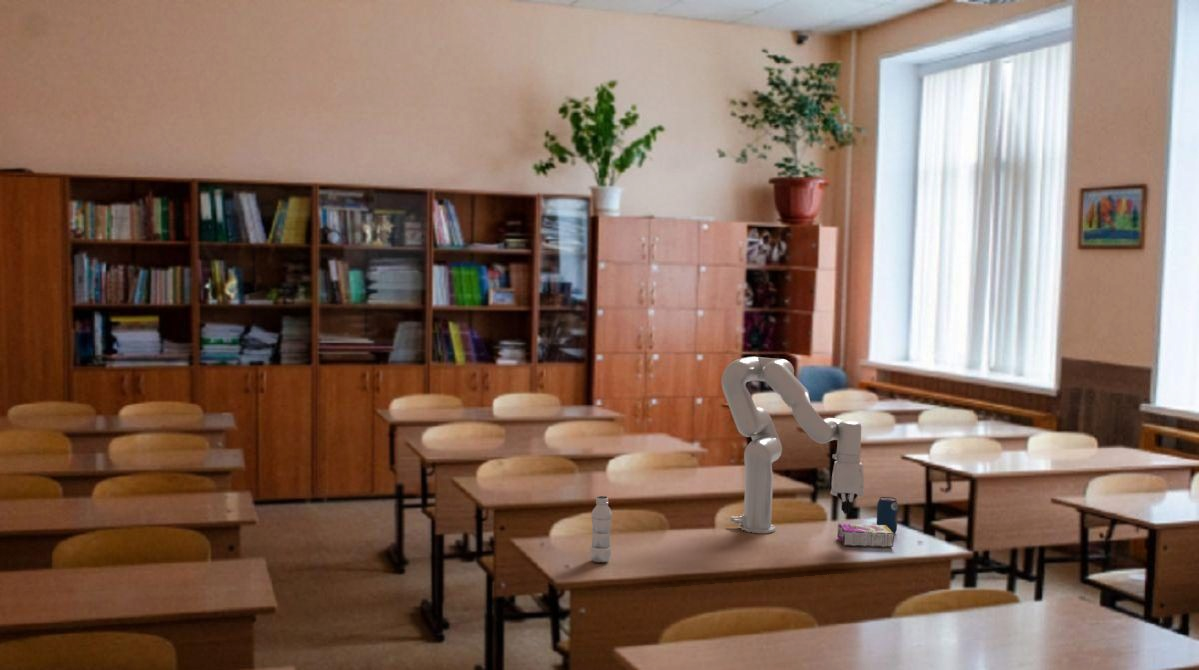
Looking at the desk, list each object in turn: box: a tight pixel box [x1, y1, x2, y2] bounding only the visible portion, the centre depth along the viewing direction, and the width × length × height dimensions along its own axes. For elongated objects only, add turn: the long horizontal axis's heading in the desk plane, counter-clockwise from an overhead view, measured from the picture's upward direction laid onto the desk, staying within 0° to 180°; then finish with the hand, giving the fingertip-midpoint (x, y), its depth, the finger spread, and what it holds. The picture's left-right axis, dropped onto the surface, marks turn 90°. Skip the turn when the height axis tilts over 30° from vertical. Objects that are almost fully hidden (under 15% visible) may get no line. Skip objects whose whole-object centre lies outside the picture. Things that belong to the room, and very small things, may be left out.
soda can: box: [875, 496, 899, 535], centre depth 371 cm, size 7×7×12 cm
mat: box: [844, 545, 892, 549], centre depth 359 cm, size 15×12×1 cm
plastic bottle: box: [589, 495, 613, 563], centre depth 326 cm, size 6×7×20 cm
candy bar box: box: [837, 523, 895, 548], centre depth 357 cm, size 11×5×16 cm
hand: (846, 512), depth 356 cm, fingers closed
